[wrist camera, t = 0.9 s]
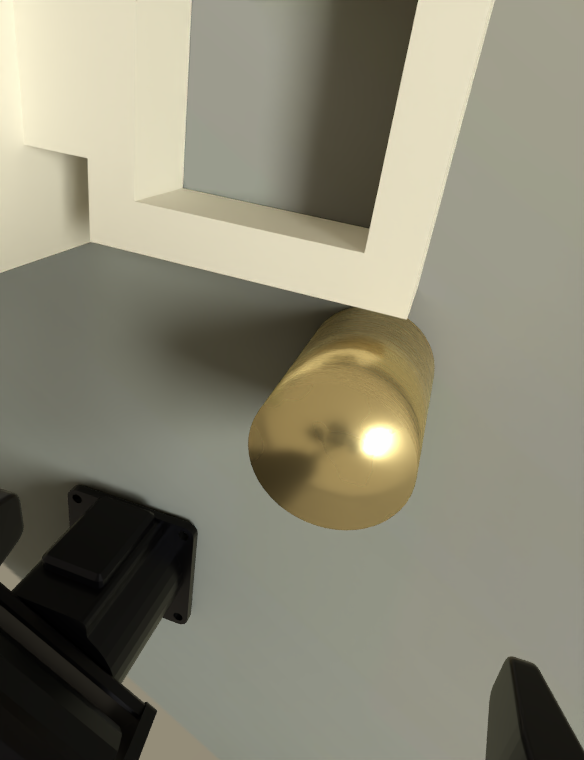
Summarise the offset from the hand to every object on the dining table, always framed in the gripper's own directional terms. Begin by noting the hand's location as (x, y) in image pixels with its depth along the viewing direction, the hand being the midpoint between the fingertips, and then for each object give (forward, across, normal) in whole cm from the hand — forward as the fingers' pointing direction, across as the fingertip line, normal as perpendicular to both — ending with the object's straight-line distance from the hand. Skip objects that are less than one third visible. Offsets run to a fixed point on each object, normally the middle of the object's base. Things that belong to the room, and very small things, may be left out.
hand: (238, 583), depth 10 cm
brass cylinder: (+11, -1, 0) cm, 11 cm away
